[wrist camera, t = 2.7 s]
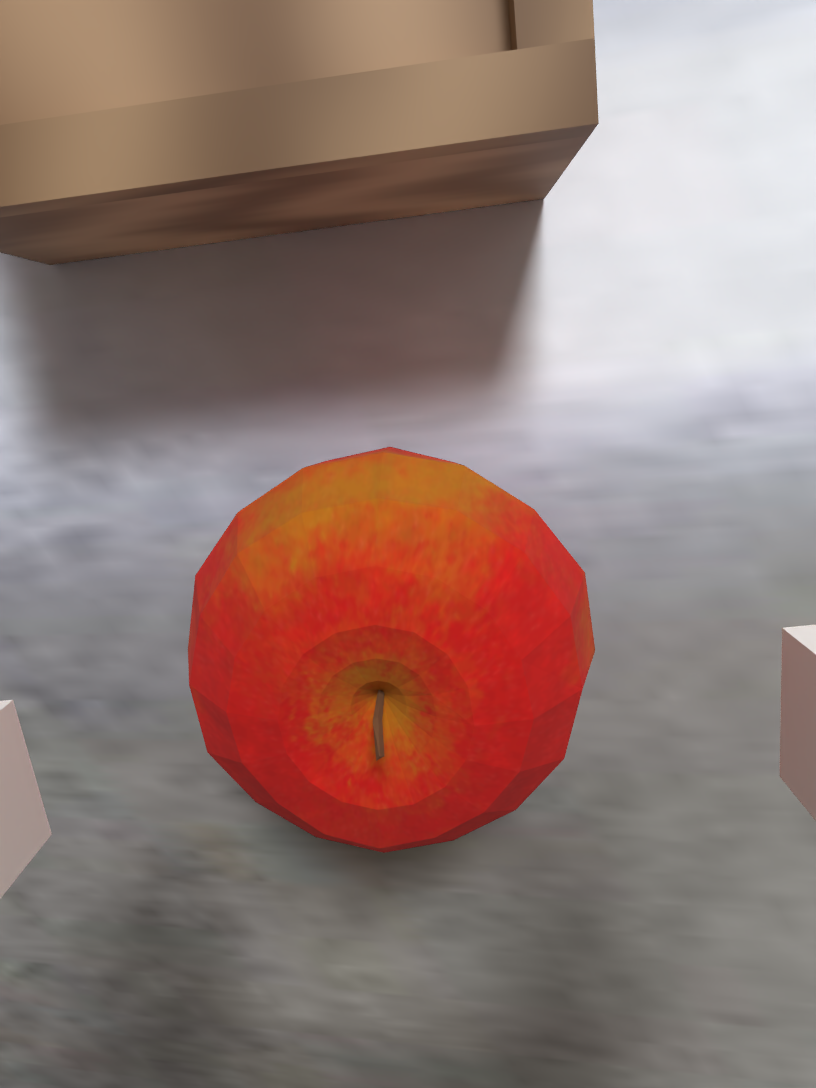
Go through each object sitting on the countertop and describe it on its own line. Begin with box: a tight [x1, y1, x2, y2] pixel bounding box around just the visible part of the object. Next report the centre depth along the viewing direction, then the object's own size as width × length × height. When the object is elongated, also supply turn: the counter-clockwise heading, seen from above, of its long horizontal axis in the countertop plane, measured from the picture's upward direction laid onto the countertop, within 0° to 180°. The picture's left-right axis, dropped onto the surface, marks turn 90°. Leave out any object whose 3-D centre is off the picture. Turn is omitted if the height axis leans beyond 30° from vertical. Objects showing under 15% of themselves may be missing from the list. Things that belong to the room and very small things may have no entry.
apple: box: [188, 447, 595, 852], centre depth 18 cm, size 9×9×12 cm
